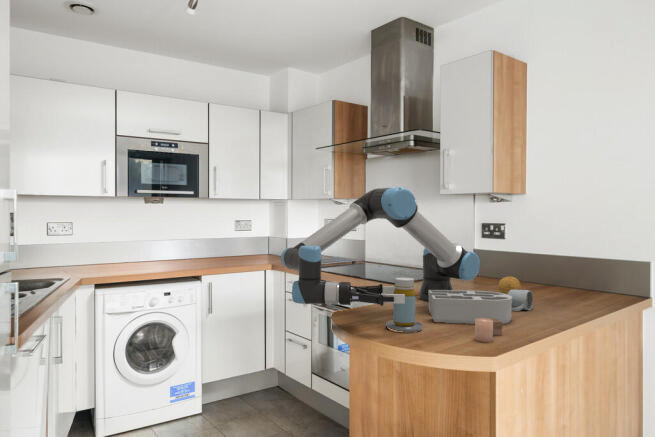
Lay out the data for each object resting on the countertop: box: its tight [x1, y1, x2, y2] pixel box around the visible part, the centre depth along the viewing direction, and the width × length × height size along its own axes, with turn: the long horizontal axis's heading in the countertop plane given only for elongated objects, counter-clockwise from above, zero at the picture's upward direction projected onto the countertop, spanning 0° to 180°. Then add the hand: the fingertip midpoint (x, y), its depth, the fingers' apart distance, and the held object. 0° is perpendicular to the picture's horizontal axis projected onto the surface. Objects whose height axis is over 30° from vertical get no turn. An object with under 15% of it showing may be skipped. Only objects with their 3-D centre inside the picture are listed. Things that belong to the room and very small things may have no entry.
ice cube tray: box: [428, 289, 512, 325], centre depth 156 cm, size 17×28×9 cm, turn 83°
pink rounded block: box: [474, 318, 494, 343], centre depth 130 cm, size 5×5×6 cm
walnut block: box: [488, 318, 503, 337], centre depth 136 cm, size 4×4×4 cm
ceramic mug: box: [507, 289, 534, 312], centre depth 170 cm, size 11×8×8 cm
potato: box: [497, 276, 522, 294], centre depth 193 cm, size 10×13×9 cm
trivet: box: [385, 319, 424, 332], centre depth 142 cm, size 12×12×1 cm
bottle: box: [392, 276, 416, 327], centre depth 142 cm, size 7×7×15 cm
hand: (403, 294), depth 142 cm, fingers open, 13 cm apart
